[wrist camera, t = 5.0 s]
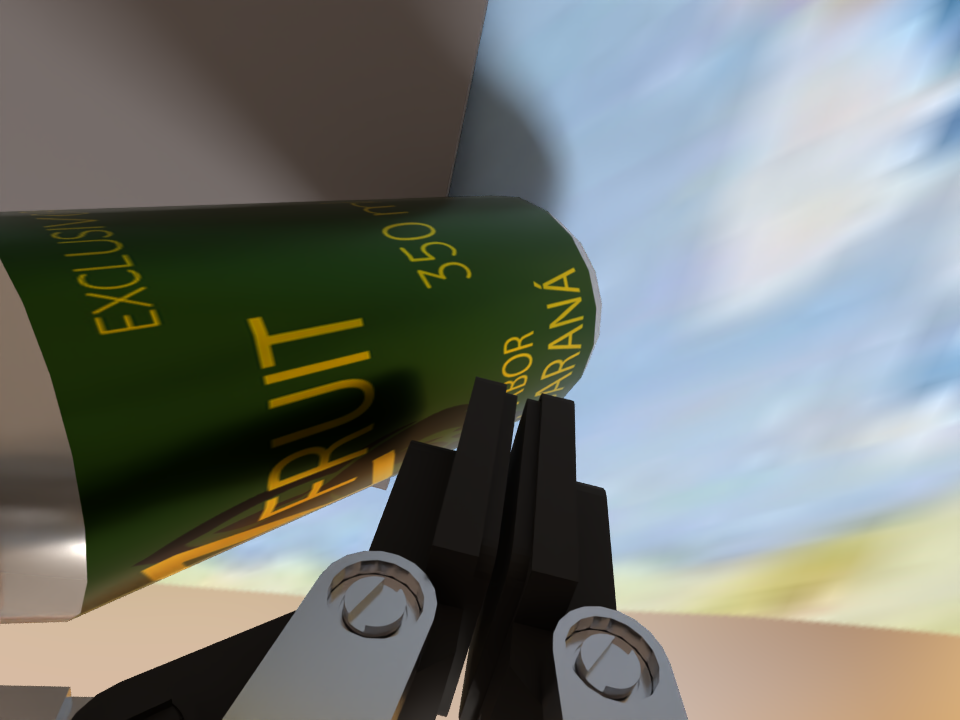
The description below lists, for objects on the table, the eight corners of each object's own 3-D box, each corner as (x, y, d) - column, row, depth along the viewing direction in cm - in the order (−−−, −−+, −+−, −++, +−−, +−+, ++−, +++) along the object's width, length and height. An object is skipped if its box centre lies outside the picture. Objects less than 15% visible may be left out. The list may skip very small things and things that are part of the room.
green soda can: (433, 362, 19) (-103, 520, 10) (456, 174, 17) (-191, 172, 8) (587, 441, 16) (7, 760, 7) (638, 222, 14) (-87, 301, 5)
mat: (505, -83, 14) (503, -86, 14) (389, 482, 22) (386, 490, 21) (-116, -245, 14) (-134, -252, 14) (-16, 374, 22) (-26, 380, 21)
